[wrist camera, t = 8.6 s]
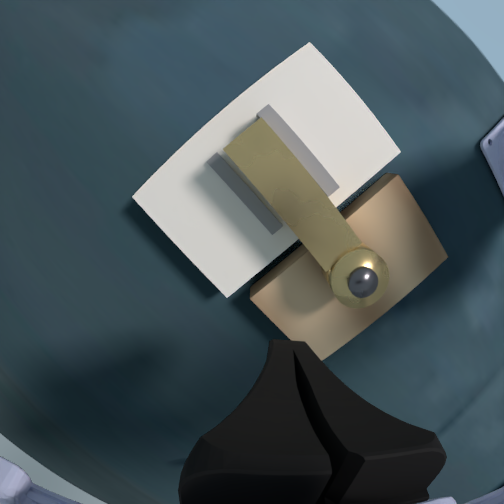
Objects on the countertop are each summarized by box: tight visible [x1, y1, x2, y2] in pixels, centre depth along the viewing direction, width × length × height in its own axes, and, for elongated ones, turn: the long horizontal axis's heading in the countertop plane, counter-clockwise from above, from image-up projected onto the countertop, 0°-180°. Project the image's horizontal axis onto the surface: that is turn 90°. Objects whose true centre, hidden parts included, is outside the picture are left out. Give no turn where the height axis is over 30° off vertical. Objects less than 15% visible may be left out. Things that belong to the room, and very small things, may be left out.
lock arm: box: [223, 117, 389, 309], centre depth 17 cm, size 11×3×4 cm, turn 40°
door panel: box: [132, 42, 401, 298], centre depth 18 cm, size 14×8×4 cm, turn 131°
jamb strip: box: [250, 173, 448, 361], centre depth 21 cm, size 12×7×2 cm, turn 131°
